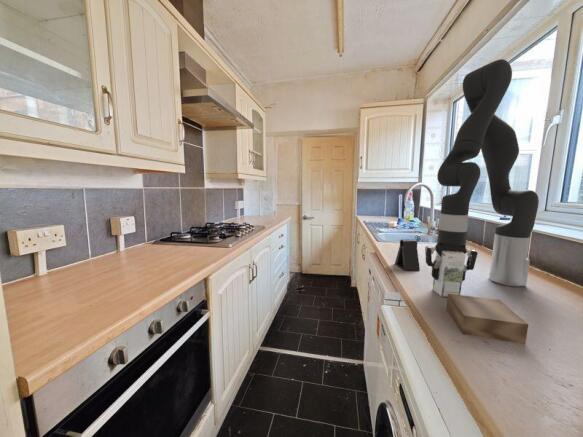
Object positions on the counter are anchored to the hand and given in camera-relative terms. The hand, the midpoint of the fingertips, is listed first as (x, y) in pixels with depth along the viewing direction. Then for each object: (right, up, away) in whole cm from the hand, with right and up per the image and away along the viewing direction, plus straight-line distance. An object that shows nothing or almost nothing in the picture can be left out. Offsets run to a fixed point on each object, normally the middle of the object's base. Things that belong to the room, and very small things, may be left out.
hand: (447, 280), depth 77 cm
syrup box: (0, -5, +1) cm, 5 cm away
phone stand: (-1, -1, +26) cm, 26 cm away
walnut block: (-2, -7, -16) cm, 18 cm away
